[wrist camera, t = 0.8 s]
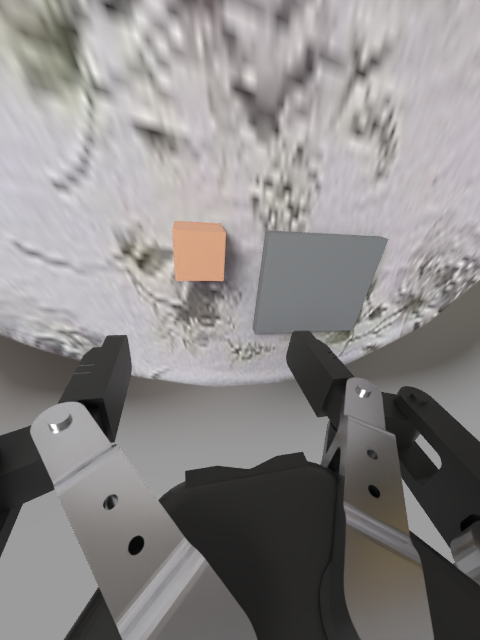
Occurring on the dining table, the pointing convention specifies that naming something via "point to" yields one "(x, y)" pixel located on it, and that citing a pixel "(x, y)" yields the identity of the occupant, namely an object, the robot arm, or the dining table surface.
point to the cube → (199, 251)
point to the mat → (314, 281)
